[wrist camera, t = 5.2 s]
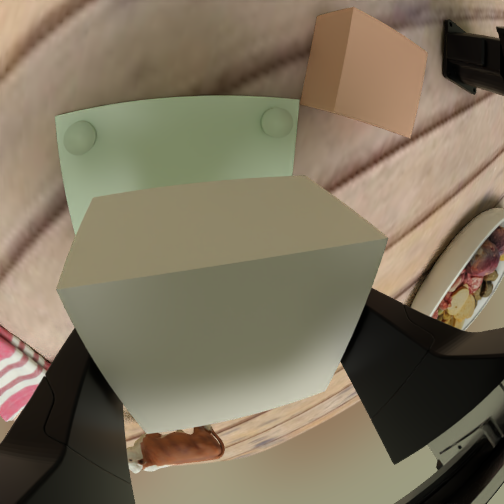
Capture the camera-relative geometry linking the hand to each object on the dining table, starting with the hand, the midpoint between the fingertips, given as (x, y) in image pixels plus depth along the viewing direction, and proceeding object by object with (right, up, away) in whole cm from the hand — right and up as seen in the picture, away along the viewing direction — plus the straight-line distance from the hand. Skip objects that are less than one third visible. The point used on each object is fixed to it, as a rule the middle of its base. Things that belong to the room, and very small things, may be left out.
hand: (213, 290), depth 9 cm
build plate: (-3, +5, +7) cm, 10 cm away
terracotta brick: (+8, +13, +7) cm, 17 cm away
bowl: (+36, -3, +29) cm, 46 cm away
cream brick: (0, +1, +1) cm, 1 cm away
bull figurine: (-10, -20, +22) cm, 31 cm away
